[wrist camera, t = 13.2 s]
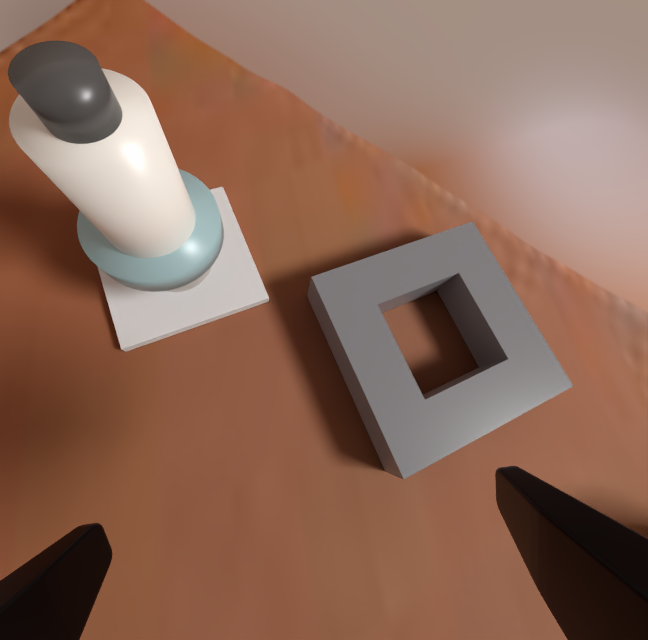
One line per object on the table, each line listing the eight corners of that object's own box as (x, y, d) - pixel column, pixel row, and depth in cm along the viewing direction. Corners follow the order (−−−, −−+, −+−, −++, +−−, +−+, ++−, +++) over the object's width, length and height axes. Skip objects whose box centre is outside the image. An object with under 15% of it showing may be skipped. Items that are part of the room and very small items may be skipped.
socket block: (385, 471, 20) (404, 479, 17) (306, 295, 22) (311, 276, 19) (535, 390, 22) (573, 385, 20) (450, 244, 25) (472, 221, 22)
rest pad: (125, 351, 19) (121, 349, 19) (89, 226, 22) (84, 221, 21) (269, 301, 22) (268, 298, 21) (224, 192, 24) (222, 186, 23)
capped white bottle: (179, 332, 20) (40, 210, 8) (94, 266, 20) (-145, 66, 9) (253, 254, 22) (224, 72, 10) (175, 196, 22) (65, -38, 11)
